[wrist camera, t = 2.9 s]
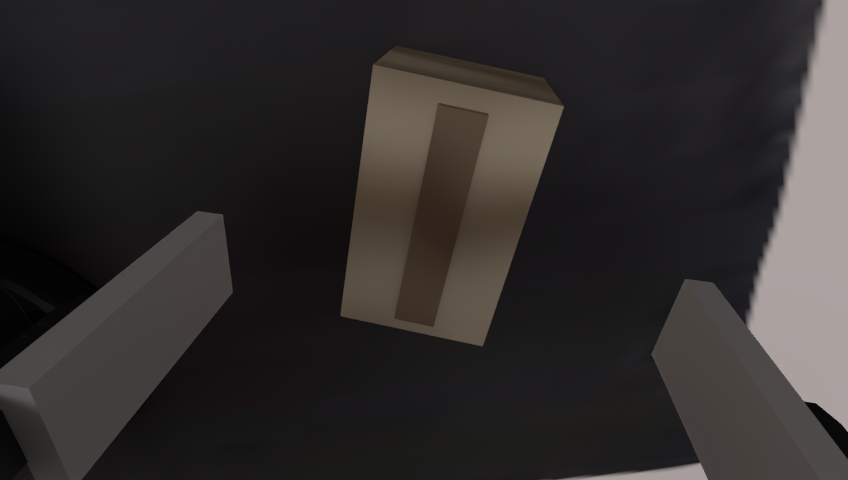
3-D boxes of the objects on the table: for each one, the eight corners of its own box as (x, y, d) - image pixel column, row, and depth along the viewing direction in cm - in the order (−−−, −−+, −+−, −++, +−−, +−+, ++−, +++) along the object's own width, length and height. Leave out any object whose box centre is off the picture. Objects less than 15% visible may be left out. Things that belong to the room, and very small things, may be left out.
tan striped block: (481, 278, 24) (482, 351, 19) (364, 254, 24) (338, 320, 19) (543, 77, 19) (565, 108, 14) (396, 44, 19) (371, 66, 14)
